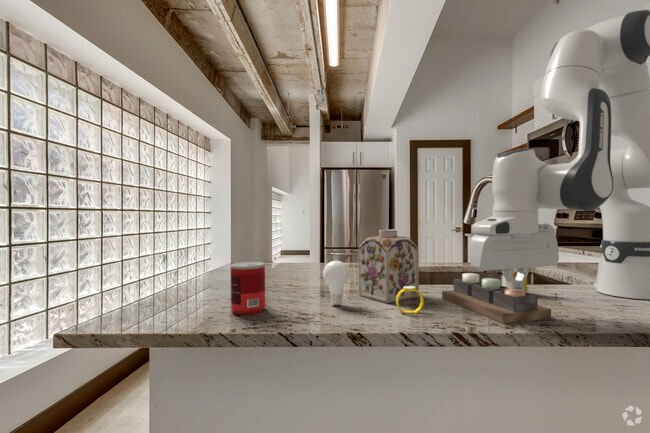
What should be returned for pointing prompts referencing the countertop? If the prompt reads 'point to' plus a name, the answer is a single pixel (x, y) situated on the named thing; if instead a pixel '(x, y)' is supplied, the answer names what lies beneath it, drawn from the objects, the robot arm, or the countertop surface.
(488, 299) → the button board
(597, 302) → the countertop surface
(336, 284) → the lightbulb
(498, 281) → the sage button
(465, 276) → the cream button
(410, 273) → the decorative jar
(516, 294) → the terracotta button
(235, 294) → the canned food
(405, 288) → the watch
